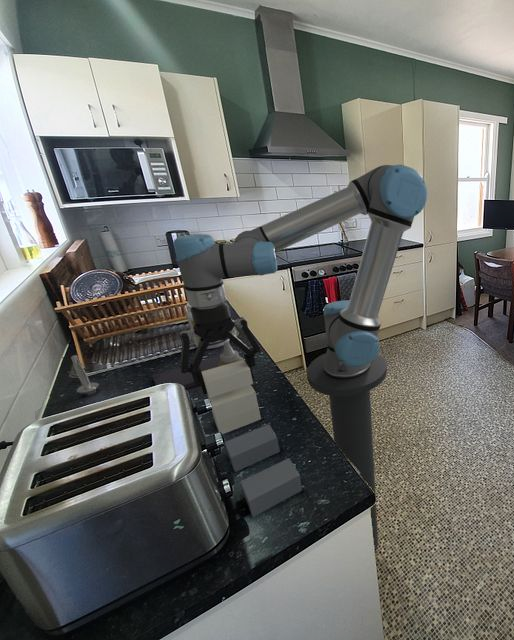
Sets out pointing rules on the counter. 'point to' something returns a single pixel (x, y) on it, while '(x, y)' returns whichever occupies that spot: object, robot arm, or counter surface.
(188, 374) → the notebook
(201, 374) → the robot arm
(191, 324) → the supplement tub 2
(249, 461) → the grey block
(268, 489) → the grey beveled block
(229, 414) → the beige block
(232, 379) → the tan rectangular block
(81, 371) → the screw
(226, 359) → the squeeze bottle
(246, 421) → the beige rectangular block
